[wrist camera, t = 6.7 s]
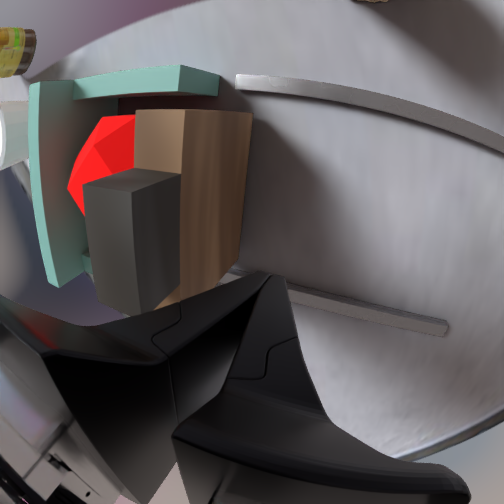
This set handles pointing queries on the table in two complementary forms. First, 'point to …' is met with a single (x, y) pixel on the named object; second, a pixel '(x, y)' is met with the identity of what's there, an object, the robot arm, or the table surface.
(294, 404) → the robot arm
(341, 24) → the table surface
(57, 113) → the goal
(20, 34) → the sauce bottle
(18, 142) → the white cup
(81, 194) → the ball
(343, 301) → the track
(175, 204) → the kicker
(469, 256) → the table surface
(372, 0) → the coffee cup
